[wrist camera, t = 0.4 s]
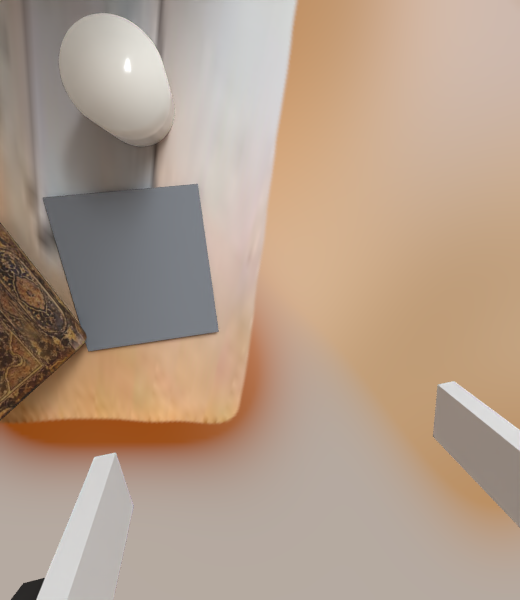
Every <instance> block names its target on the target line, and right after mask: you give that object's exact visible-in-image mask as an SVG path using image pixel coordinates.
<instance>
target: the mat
mask: <svg viewBox="0 0 520 600" xmlns="http://www.w3.org/2000/svg"><path fill="white" fill-rule="evenodd" d="M43 200H44V204H45V207H46V211H47V214H48V217H49V221H50V224H51V227H52V231H53V234H54V238H55V241H56V244H57V248H58V251H59V254H60V258H61V261H62V265H63V268H64V271H65V275H66V278H67V281H68V285H69V288H70V292H71V295H72V298H73V302H74V305H75V308H76V312H77V315H78V318H79V322H80V325H81V327H82V329H83V330H84V331H85V333H86V336H87V338H86V341H85V342H86V345H87V349H88V351H94V350H100V349H107V348H113V347H120V346H127V345H133V344H140V343H146V342H153V341H160V340H166V339H173V338H180V337H186V336H193V335H199V334H206V333H213V332H219V330H218V323H217V316H216V309H215V302H214V295H213V288H212V281H211V274H210V267H209V260H208V253H207V246H206V239H205V232H204V225H203V218H202V211H201V204H200V197H199V190H198V184H192V185H180V186H169V187H158V188H147V189H135V190H124V191H113V192H101V193H90V194H79V195H67V196H56V197H45V198H43Z"/></svg>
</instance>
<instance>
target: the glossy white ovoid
mask: <svg viewBox="0 0 520 600" xmlns="http://www.w3.org/2000/svg"><path fill="white" fill-rule="evenodd" d="M59 70H60V76H61V79H62V83H63V86H64V88H65V90H66V92H67V94H68V96H69V98H70V99H71V101H72V102H73V104H74V105H75V106H76V107H77V108H78V110H79V111H80V112H81V113H82V114H84V115H85V116H86V117H87V118H88V119H90V120H91V121H93V122H94V123H96V124H97V125H99V126H100V127H102V128H103V129H104V130H106V131H107V132H109V133H110V134H112V135H113V136H115V137H116V138H118V139H119V140H121V141H123V142H125V143H127V144H129V145H133V146H139V147H144V146H150V145H153V144H156V143H158V142H159V141H161V140H162V139H163V138H164V137H165V136H166V135H167V134H168V133H169V131H170V129H171V127H172V125H173V121H174V116H175V105H174V100H173V96H172V93H171V89H170V86H169V82H168V79H167V76H166V72H165V69H164V65H163V62H162V59H161V57H160V54H159V52H158V50H157V48H156V47H155V45H154V43H153V42H152V41H151V39H150V38H149V37H148V36H147V35H146V34H145V32H144V31H143V30H141V29H140V28H139V27H138V26H137V25H135V24H134V23H132V22H131V21H129V20H127V19H125V18H123V17H120V16H117V15H114V14H109V13H97V14H92V15H88V16H85V17H83V18H81V19H80V20H78V21H77V22H75V23H74V24H73V25H72V26H71V27H70V28H69V30H68V31H67V33H66V34H65V36H64V38H63V41H62V43H61V47H60V52H59Z"/></svg>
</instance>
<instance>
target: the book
mask: <svg viewBox="0 0 520 600" xmlns="http://www.w3.org/2000/svg"><path fill="white" fill-rule="evenodd" d="M86 338H87V336H86V333H85V331H84V330H83V329H82V327H81V326H80V324H79V323H78V322H77V320H76V319H75V318H74V316H73V315H72V313H71V312H70V311H69V310H68V308H67V307H66V306H65V304H64V303H63V302H62V301H61V299H60V298H59V297H58V296H57V294H56V293H55V292H54V290H53V289H52V288H51V287H50V285H49V284H48V283H47V282H46V280H45V279H44V278H43V277H42V275H41V274H40V273H39V271H38V270H37V269H36V268H35V266H34V265H33V264H32V263H31V261H30V260H29V259H28V257H27V256H26V255H25V254H24V252H23V251H22V250H21V249H20V247H19V246H18V245H17V244H16V242H15V241H14V240H13V238H12V237H11V236H10V235H9V233H8V232H7V231H6V230H5V228H4V227H3V226H2V224H1V223H0V420H1V419H3V418H4V417H5V416H6V415H7V414H8V413H9V412H10V411H11V410H12V409H14V408H15V407H16V406H17V405H18V404H19V403H20V402H21V401H22V400H23V399H25V398H26V397H27V396H28V395H29V394H30V393H31V392H32V391H33V390H34V389H36V388H37V387H38V386H39V385H40V384H41V383H42V382H43V381H44V380H45V379H47V378H48V377H49V376H50V375H51V374H52V373H53V372H54V371H55V370H57V369H58V368H59V367H60V366H61V365H62V364H63V363H64V362H65V361H66V360H68V359H69V358H70V357H71V356H72V355H73V354H74V353H75V352H76V351H77V350H78V349H79V348H81V346H82V345H83V344H84V343H85V341H86Z"/></svg>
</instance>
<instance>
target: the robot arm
mask: <svg viewBox="0 0 520 600" xmlns="http://www.w3.org/2000/svg"><path fill="white" fill-rule="evenodd" d="M433 437H434V438H435V439H436V440H437V441H438V442H439V443H440V444H441V445H442V446H443V447H444V449H445V450H446V451H447V452H448V453H449V454H450V455H451V456H452V457H453V458H454V459H455V460H456V461H457V462H458V463H459V464H460V465H461V466H462V467H463V468H464V469H465V470H466V472H467V473H468V474H469V475H470V476H471V477H472V478H473V479H474V480H475V481H476V482H477V483H478V484H479V485H480V486H481V487H482V488H483V489H484V490H485V491H486V493H487V494H488V495H489V496H490V497H491V498H492V499H493V500H494V501H495V502H496V503H497V504H498V505H499V506H500V507H501V508H502V509H503V510H504V512H505V513H506V514H507V515H508V516H509V517H510V518H511V519H512V520H513V521H514V522H515V523H516V524H517V525H518V526H519V527H520V430H519V429H518V428H516V427H515V426H514V425H512V424H511V423H510V422H508V421H507V420H505V419H504V418H503V417H501V416H500V415H499V414H498V413H496V412H495V411H493V410H492V409H491V408H489V407H488V406H487V405H485V404H484V403H483V402H481V401H480V400H479V399H477V398H476V397H475V396H473V395H472V394H471V393H469V392H468V391H466V390H465V389H464V388H462V387H461V386H460V385H458V384H457V383H456V382H454V381H453V382H448V383H443V384H439V385H438V388H437V399H436V410H435V421H434V431H433ZM133 507H134V505H133V503H132V499H131V496H130V493H129V490H128V487H127V484H126V481H125V478H124V475H123V472H122V469H121V466H120V463H119V460H118V457H117V454H116V453H111V454H107V455H102V456H97V457H94V459H93V462H92V464H91V467H90V469H89V471H88V474H87V476H86V479H85V482H84V484H83V486H82V489H81V491H80V494H79V496H78V498H77V501H76V504H75V506H74V508H73V511H72V513H71V516H70V518H69V521H68V523H67V526H66V528H65V531H64V533H63V536H62V538H61V540H60V543H59V545H58V548H57V550H56V553H55V555H54V557H53V560H52V562H51V565H50V567H49V570H48V572H47V575H46V577H45V578H43V579H38V580H35V581H31V582H27V583H23V585H22V586H21V587H20V589H19V590H18V591H17V592H16V594H15V595H14V596H13V598H12V599H11V600H113V599H114V595H115V590H116V586H117V581H118V577H119V572H120V567H121V563H122V558H123V553H124V549H125V544H126V540H127V535H128V530H129V525H130V521H131V517H132V512H133Z"/></svg>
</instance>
